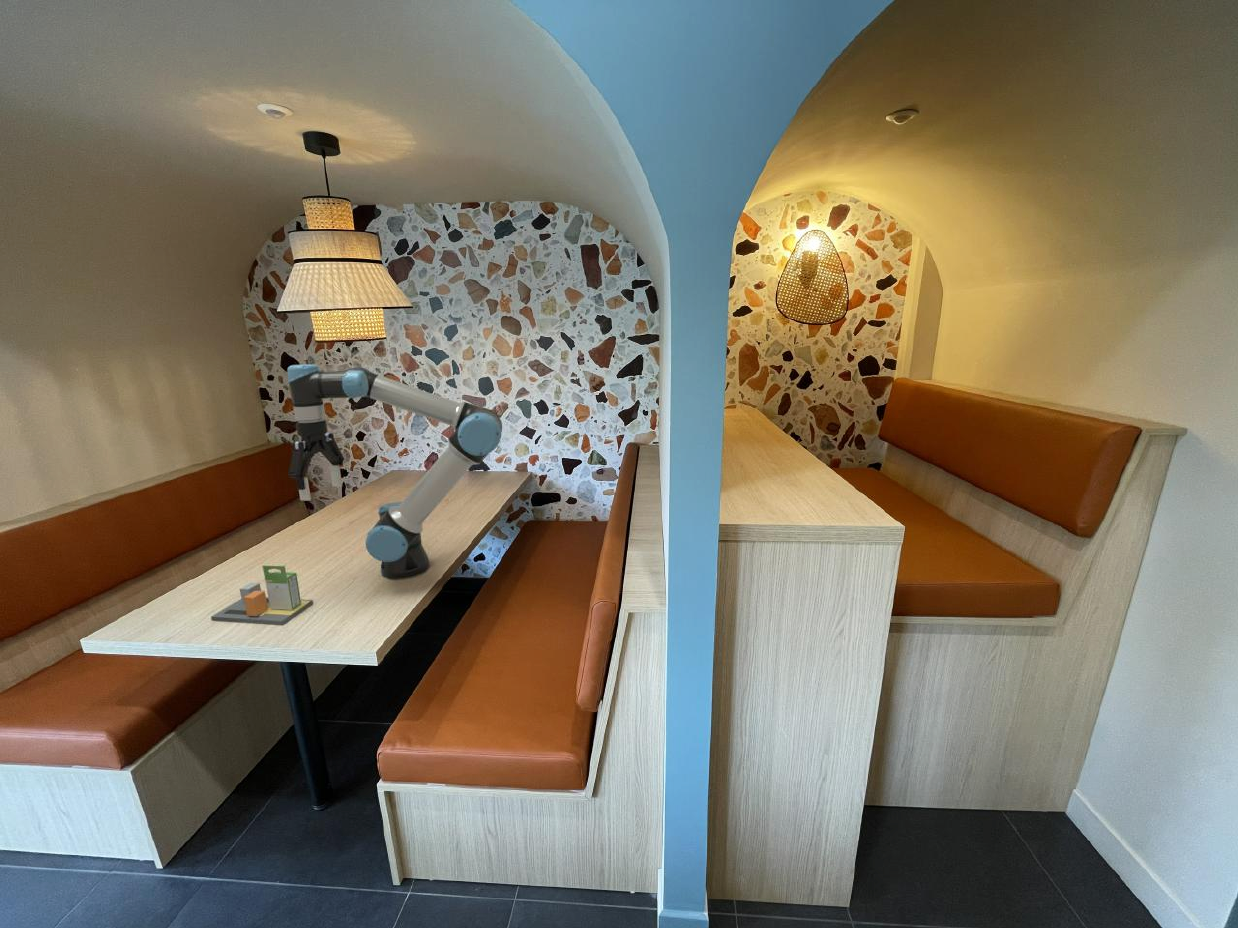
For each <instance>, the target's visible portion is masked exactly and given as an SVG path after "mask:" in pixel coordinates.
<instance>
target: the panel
mask: <svg viewBox="0 0 1238 928" xmlns="http://www.w3.org/2000/svg"><path fill="white" fill-rule="evenodd" d="M254 591H262V588H261V583H260V582H249V583H247V584H246V585H244V586H242V587H240V588H239V593H240V597H241V598H240V599H238V600H237V601H235V602H233V603H231V604H230V605H228V606H227V607H225V608H223V609H221V610H220V611H218V612H215V614H213V615H211V616H210V619H211V621H213V622H216V621H217V622H227V623H242V624H244V623H245V624H259V625H260V624H261V625H273V626H274V625H275V626H276V625H277V626H284V625H285V624H287V623H289V621H291V620H293V619H294V618H295V617H297V616H298V615H299V614H301V613H302V612H304V611H306V610H307V609H308V608H310V607H311V606H312V605H314V600H313V599H302V598H300V599H301V600H302V601H310V602H309V603H308V604H306V605H305V606H303V607H302V608H300V609H299V610H298V611H296V612H295V613H293V614H292V615H290V616H288V615H272V614H260V615H258V616H247V612H246V607H245V602H244V597H245V596H247V595H249V594H250V593H252V592H254ZM266 601H267V606H268V608H270V604H269V598H268V596H266Z"/></svg>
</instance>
